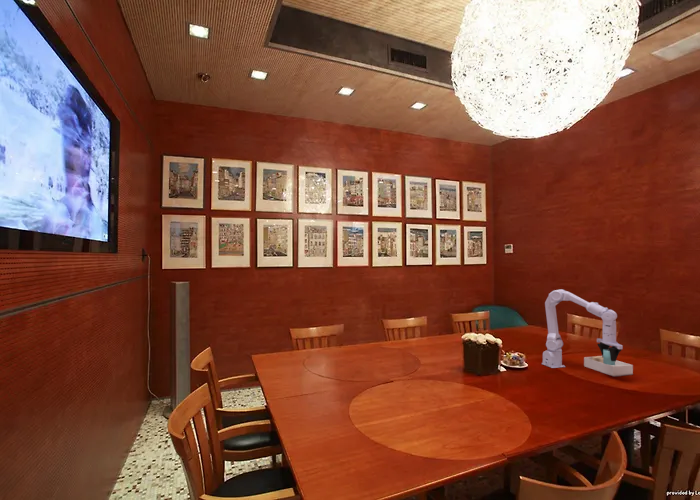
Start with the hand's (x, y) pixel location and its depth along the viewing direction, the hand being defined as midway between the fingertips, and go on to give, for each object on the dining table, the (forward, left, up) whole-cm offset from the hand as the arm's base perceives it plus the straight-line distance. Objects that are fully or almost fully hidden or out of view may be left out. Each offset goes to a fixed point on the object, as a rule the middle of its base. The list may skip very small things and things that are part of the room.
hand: (609, 359), depth 181 cm
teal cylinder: (0, 0, -2) cm, 2 cm away
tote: (+10, +9, -9) cm, 17 cm away
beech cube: (+10, +14, -9) cm, 19 cm away
